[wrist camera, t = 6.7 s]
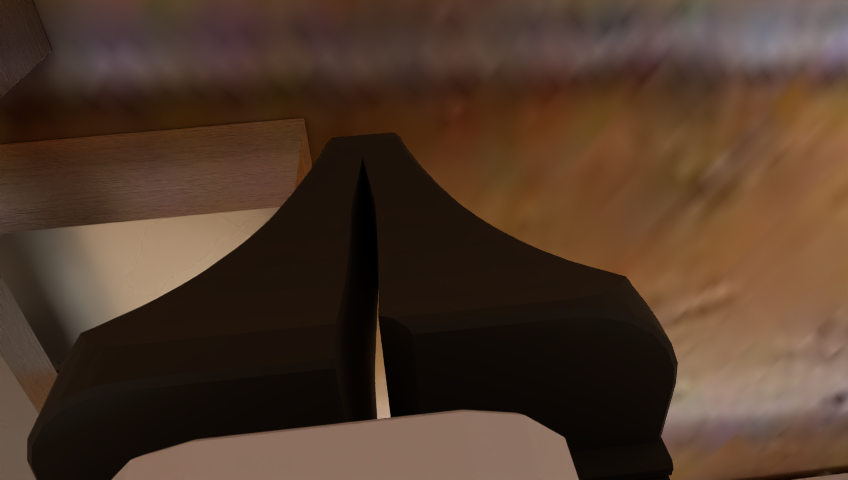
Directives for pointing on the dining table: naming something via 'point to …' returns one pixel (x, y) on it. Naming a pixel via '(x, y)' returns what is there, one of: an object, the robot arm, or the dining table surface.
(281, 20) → the dining table surface
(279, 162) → the beige rectangular bar
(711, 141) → the dining table surface
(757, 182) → the dining table surface
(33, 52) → the collar block
